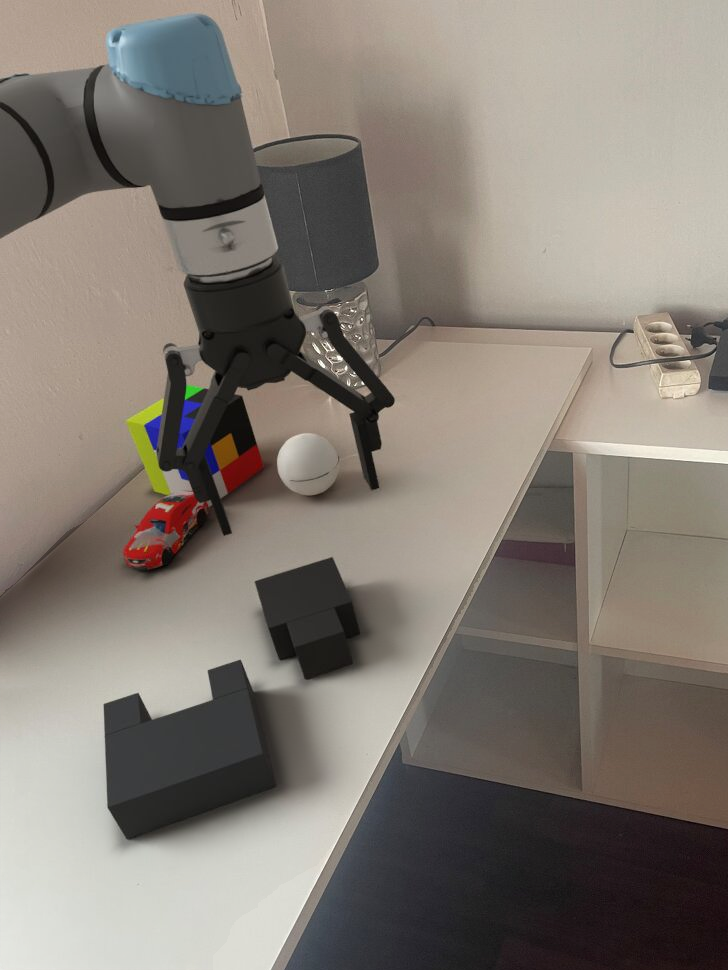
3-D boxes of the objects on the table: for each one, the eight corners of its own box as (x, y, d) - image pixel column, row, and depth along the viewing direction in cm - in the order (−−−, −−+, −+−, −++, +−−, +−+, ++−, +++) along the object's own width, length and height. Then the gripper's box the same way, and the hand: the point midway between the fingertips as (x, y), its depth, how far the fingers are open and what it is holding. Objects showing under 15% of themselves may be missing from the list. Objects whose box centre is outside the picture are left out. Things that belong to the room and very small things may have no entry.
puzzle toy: (208, 507, 105) (182, 434, 99) (154, 491, 110) (125, 420, 104) (264, 467, 111) (242, 395, 105) (210, 453, 116) (186, 384, 110)
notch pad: (120, 735, 76) (103, 703, 74) (253, 691, 78) (240, 658, 76) (126, 839, 67) (107, 807, 65) (276, 786, 69) (263, 753, 67)
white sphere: (279, 510, 102) (263, 456, 98) (292, 477, 108) (277, 424, 104) (362, 503, 101) (349, 448, 97) (370, 470, 107) (358, 416, 102)
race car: (160, 577, 95) (147, 548, 92) (119, 573, 97) (105, 544, 94) (219, 510, 104) (209, 481, 102) (181, 507, 106) (170, 479, 103)
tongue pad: (265, 612, 87) (254, 580, 85) (340, 587, 89) (332, 556, 86) (286, 685, 78) (275, 653, 76) (370, 657, 80) (362, 625, 77)
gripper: (61, 323, 59) (165, 569, 72) (403, 237, 64) (443, 483, 77) (61, 292, 65) (158, 525, 78) (375, 216, 70) (416, 448, 83)
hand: (299, 505), depth 78 cm, fingers open, 13 cm apart
